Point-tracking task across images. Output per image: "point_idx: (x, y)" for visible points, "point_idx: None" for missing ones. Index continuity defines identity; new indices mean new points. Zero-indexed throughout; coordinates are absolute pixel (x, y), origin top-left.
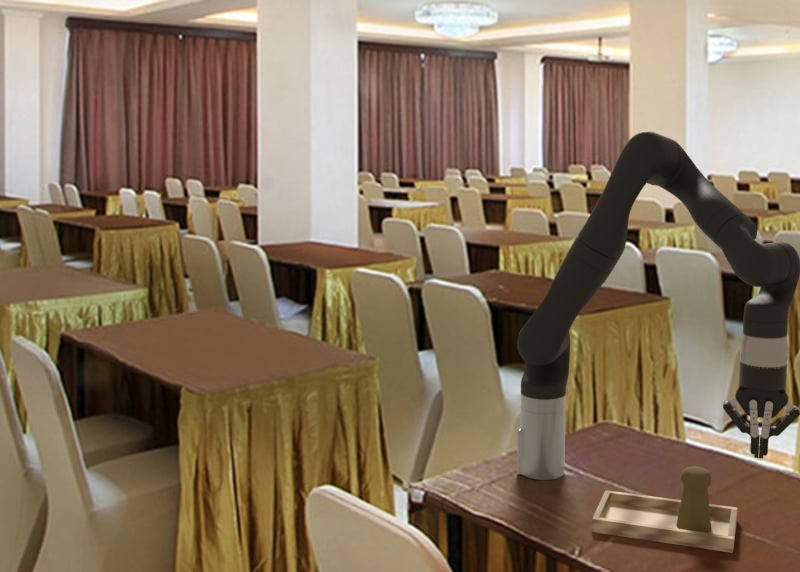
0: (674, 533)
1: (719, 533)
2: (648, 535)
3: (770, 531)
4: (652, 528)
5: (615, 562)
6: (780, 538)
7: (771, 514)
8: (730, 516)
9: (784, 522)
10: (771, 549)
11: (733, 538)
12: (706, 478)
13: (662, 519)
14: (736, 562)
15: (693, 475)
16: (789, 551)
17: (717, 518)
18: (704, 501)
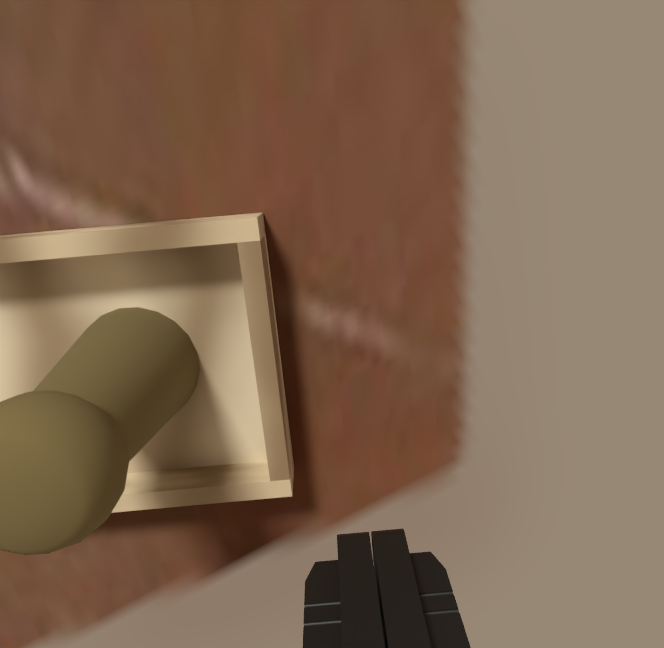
0: None
1: (231, 382)
2: None
3: (388, 259)
4: None
5: (18, 639)
6: (423, 303)
7: (381, 84)
8: (248, 320)
9: (433, 149)
10: (399, 397)
11: (290, 493)
12: (100, 524)
13: (21, 350)
14: (312, 517)
15: (29, 554)
16: (453, 388)
17: (197, 257)
18: (140, 447)
